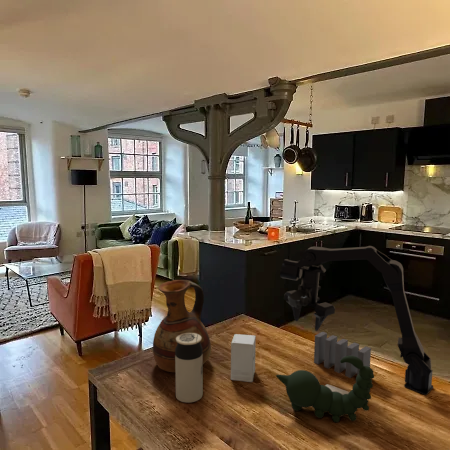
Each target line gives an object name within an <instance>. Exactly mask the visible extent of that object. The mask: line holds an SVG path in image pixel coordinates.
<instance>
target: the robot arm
mask: <svg viewBox="0 0 450 450" xmlns="http://www.w3.org/2000/svg"><path fill="white" fill-rule="evenodd" d="M356 260H357V261H359V260H360V261H361V260H363V261H365V260H366V261H368V262H369V263H370V264H371V265H372V266H373V267H374V268H375V269H376V270H377V271H379V272H380V273H381V276H382V278H383V280H384V283H385V285H386V286H387V288H388V291H389V292H390V295H391V298H392V302H393V306H394V309H395V310H394V311H395V313H396V317H397V322H398V326H399V330H400V334H401V337H398V338H397V347H398V350H399V352H400V356H399V358H402V359H403V361H404V363H405V364H407V368H405V372H404V384H403V387H405V388H406V389H409V390H412V391H414V392H417V393H419V394H422V395H425V396H427V395H428V394H429V393H431V391H432V390H433V388H434V385H433V384H432V383H433V382H432V381H433V371H434V370H433V369H432V360H431V357H430V356H429V355H428V354H427V353H426V352H425V349H424V346H423V344H422V343H421V340H420V338H419V337H418V334H417V333H416V331H415V327H414V322H413V320H412V315H411V312H410V307H409V303H408V300H407V296H406V293H405V284H404V281H405V280H404V267H403V264H402V263H401V262H399V261H398V260H394V259H391V258H390V256H389V257H388V255H386V254H384V253H383V252H381V251H379V250H378V249H377V248H376V247H375V246H372V245H368V246H367V245H366V246H359V247H342V248H341V247H340V248H339V247H338V248H327V247H323V246H310V247H309V248H307V249H305V250H304V251H303V252H302V256H301V259H300V260H297V261H295V260H290V259H287V258H286V259H283V260H282V262H283V263H282V264H281V268H280V270H279V275H280V278H282V279H287V280H292V281H298V280H299V279H301V284H298V286H297V290H295V289H294V290H289V291H286V292H285V293H284V296H283V299H284V301H286V303H288V304H289V306H290V307H291V310H292V313H293V317H294V321H295V322H298V321H299V320H300V316H301V311H302V307H307V306H309V307H312V308H314V312H313V315H314V316H315V322H314V331H316V332H317V331H318V330H320V327H322V325H323V323H324V321H325V320H326V319H327V317H328V316H331V315H334V314H335V312H336V307H335V306H334V304H331V303H329V302H326V301H325V302H321V303H319V301H320V297H319V296H318V293H319V291H320V290H321V288H322V287H321V286H322V285H321V286H320V285H319V284H320V283H319V281H320V274H324V273H325V272H326V271H327V269H326V268H325V267H324V266H323V264H325V263H328V262H334V261H335V262H337V261H341V262H342V261H356ZM317 265H318V266H317Z"/></svg>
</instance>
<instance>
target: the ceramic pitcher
mask: <svg viewBox="0 0 450 450" xmlns="http://www.w3.org/2000/svg"><path fill="white" fill-rule="evenodd" d="M190 288H193V289H194V293H195V299H194V305H193V307H192V309H191V310H190V311H189V310H188V309H187V307H186V304H185V295H186V292H187V291H188V289H190ZM158 290H159V291H160V292H161V293H162V294H164V296H165V299H166V301H165V303H166V307H167V313H166V316H165V317H164V318H163V319H162V320H161V321H160V323H159V324H158V325H157V327H156V330H155V332H154V337H153V341H152V353H153V358H154V361H155V363H156V365H157V366H158V368H159V369H161V370H162V371H166V372H168V373H169V372H170V373H176V371H175V348H176V346H177V341H176V337H177V336H179V335H181V334H184V333H196V334H199V335H200V336H201V337H202V339H201V341H200V344H201V346H202V354H203V365H204V364H205V363H206V362H207V361H208V360H209V358H210V356H211V352H212V351H211V350H212V344H211V343H212V342H211V339H210V335H209V331H208V330H207V328H206V326H205V324H204V323H203V322H202V321H201V315H202V311H203V307H204V302H205V294H204V291H203V288H202V287H201V286H200V285H199V284H197V283H195V282H193V281H191V280H187V279H173V280H171V281H170V280H169V281H165V282H163V283H161V284H159V285H158Z"/></svg>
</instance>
